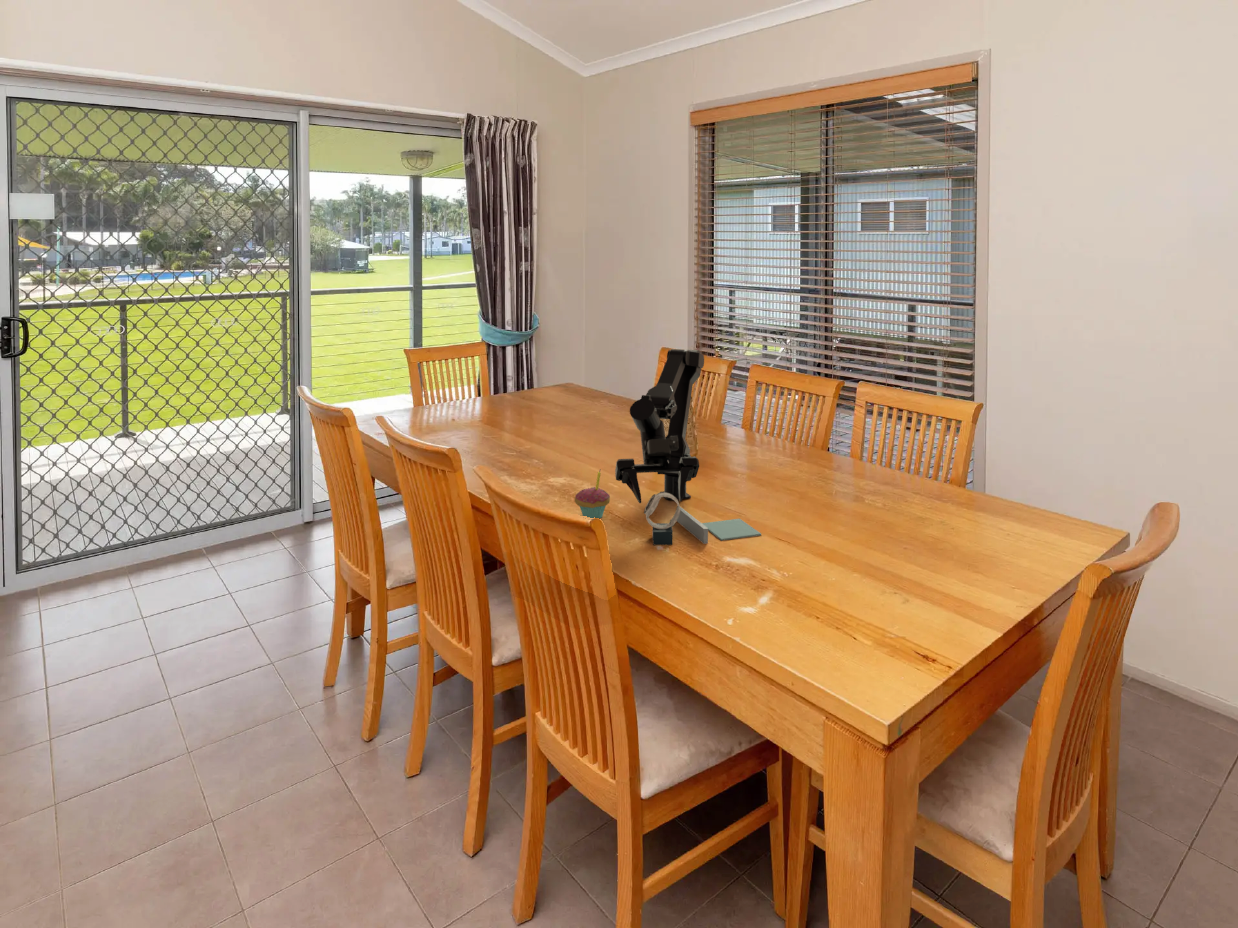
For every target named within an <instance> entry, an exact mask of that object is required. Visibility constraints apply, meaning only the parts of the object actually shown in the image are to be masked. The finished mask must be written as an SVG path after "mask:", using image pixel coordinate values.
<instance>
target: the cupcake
mask: <svg viewBox="0 0 1238 928" xmlns="http://www.w3.org/2000/svg"><path fill="white" fill-rule="evenodd" d="M600 479H601V469H599V470H598V472H597V476H596V483H595V486H592V487H588V488H583V489H580V490H579V492H577V493H576V494H575V496H574V503H575V504H577V506H578V507H579V509H580V511H581V515H582V516H587V517H590V518H594V517H595V518H599V519H601V518H603V515H604V512H605V509H606V506H607V505H608V504H610V501H611V496H610V494H609V493H608V492H607V491H606V490H603V489H602V488H599V487H600V486H599V485H600Z"/></svg>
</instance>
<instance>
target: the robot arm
mask: <svg viewBox="0 0 1238 928" xmlns="http://www.w3.org/2000/svg"><path fill="white" fill-rule="evenodd" d="M704 365H705V356H704V354H702V353H701V351H700V350H699V349H681V348H680V349H678V348H672V349H668V351H667V353H666V361H665V363H664V366H663V368H662V370H661V373H660V376H659V378H658V380H657V383H656V385H654V386H652V387H651V388H649V389H648V390H647V392H646V394H645V395H644V394H642V395H641V397H640V399H637V400H636V401H634V402H632V404H631V406H630V407H629V414H630V417H631V419H632V421H633V423H634V424H635V427H636V429H638V430H639V432H640V442H641V450H642V451H641V452H642V459H643V460H642V461H643V463H636V464H635V459H634V458H618V459H617V461H616V462H615V470H614V472H615V473H614V474H615V475H614V476H615V481H618V482H620V481H621V483H622V484H623V485H624V484H625V485H627V486H628V488H629V489H630V491H631V492H632V493H633V495H634V496H635V499H636V501H637V502H638V504H641V503H642V494H641V489H640V486H639V485H640V484H639V481H638V474H641V473H642V474H643V473H647V474H648V473H657V475H663V477H664V482H663V485H664V489H663V490H662V491H660V492H659V493H662V492H665V493H670V494H672V495H673V496H674V497H676V499H677V500H678V501H679V503H681V502H683V500H685V499H691V498H692V495H690V493H688V492H687V482H691V480H692V479H694V478H697V476H698V472H699V469H700V461H699V459H698V458H697V457H696V456H691V453H690V452H691V449H690V446H689V444H688V442H687V440H686V436H687V428H688V422H689V414H690V407H691V406H690V405H691V399H692V392H693V386H694V383H696V382H697V380H698V379H699V378H700V377H701V373H702V369H703V368H704ZM663 420H669V423H668V431H667V435H666V432H665V429H666V428H665V424H664V421H663ZM662 498H664V499H666V500H667V501H674V500H673V499H671V498H668V497H664V496H663V497H662Z"/></svg>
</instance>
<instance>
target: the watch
mask: <svg viewBox="0 0 1238 928" xmlns="http://www.w3.org/2000/svg"><path fill="white" fill-rule="evenodd" d="M661 492H662V491H661ZM663 496H664V497H668V498H671V499H673V500H672V501H674V502H675V503H676V505H677V506H676V508H675V512H674V514H673V516H672V517H671V519H670V520H669V522H665V523H664V522H663V523H662V522H658V523H657V522H653V521H652V520H651V518H650V516H652V514H653V513H654V512H655V510H656V509H657V507H658V505H659V503H660V500H661V499H662V498H664V497H663ZM680 507H681V506H680V501H679V499H676V497H674V496H673V495H672V494H670V493H665V492H662V493H660V492H658V493H655V494H653V495H652V496H651V497H650V498H649V500H648V502H647V503H646V505H645V508H644V512H643V514H645V519H646V521H647V523H648V524H649V525H650V526H651V527H652V531H651V532H652V536H651V537H652V545H653V546H673V538H674V537H673V535H674V534H673V533H674V532H673V530H674V529H673V526H674V525H675V524H676V523H677V519H678V517H679V515H680Z"/></svg>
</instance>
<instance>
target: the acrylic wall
mask: <svg viewBox="0 0 1238 928" xmlns="http://www.w3.org/2000/svg"><path fill="white" fill-rule="evenodd" d="M676 523H678V524H680V526H681V527H683V528H684V529H685V530H686V531H687V532H689V533H690V534H691V535H692V536H694V537H695V538H696V539H697V540H698V541H700V542H701V543H702V544H704V545H707V544H708V543H709V531H708V528H707V527H706V526H704V525H703V524H702V523H703V522H701V521H700V520H698V519H697V518H695V516H693V515H692V514H690V513H689V512H688V511H686V510H685V509H684V508H683V507H681V506H680V515H679V517H678V519H677V521H676Z"/></svg>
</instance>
